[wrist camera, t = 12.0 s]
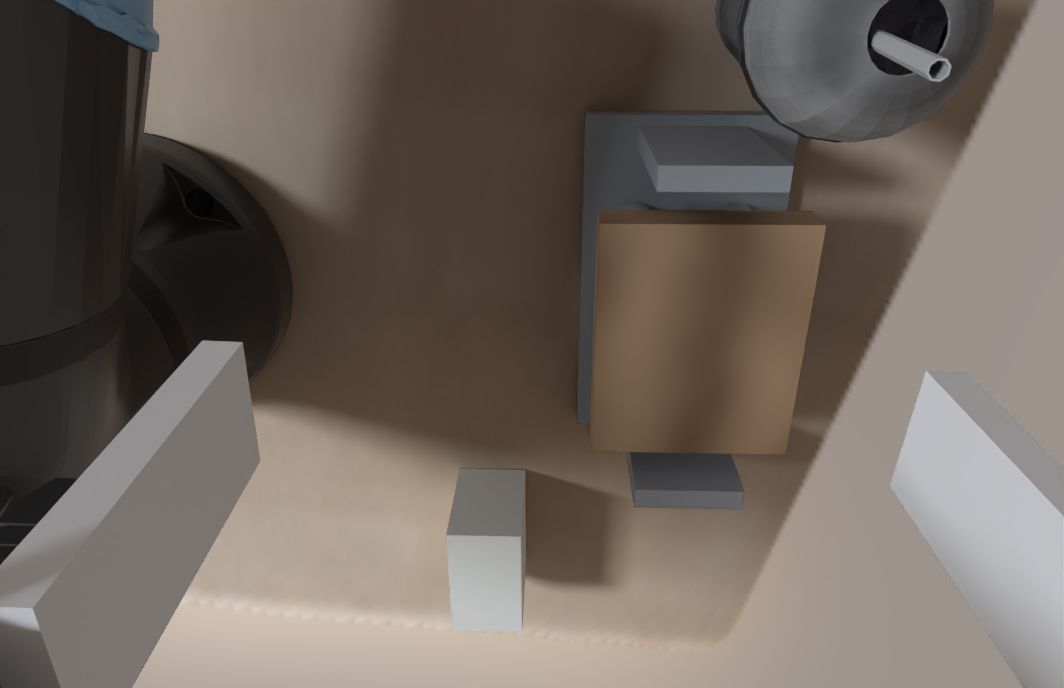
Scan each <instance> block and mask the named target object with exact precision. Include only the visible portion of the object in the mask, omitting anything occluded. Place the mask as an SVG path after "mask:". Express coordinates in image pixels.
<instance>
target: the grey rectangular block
mask: <svg viewBox="0 0 1064 688" xmlns="http://www.w3.org/2000/svg"><path fill="white" fill-rule="evenodd" d="M446 541H447V555H448V570H449V584H450V599H451V613H452V628H453V630H468V631H509V632H522V623H523V606H524V588H525V571H526V475H525V470H509V469H459V474H458V479H457V484H456V489H455V494H454V499H453V504H452V509H451V514H450V518H449V523H448V528H447V533H446Z"/></svg>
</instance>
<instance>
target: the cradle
mask: <svg viewBox="0 0 1064 688" xmlns="http://www.w3.org/2000/svg"><path fill="white" fill-rule="evenodd" d="M798 137H799V135H798V134H796V133H794V132H792V131H790V130H789V129H787V128H785V127H783V126H781V125H779V124H777V123H776V122H774V121H773V119H772V118H771V117H770V116H769V115H768V114H767V113H766V112H729V111H585V127H584V164H583V200H582V237H581V273H580V310H579V347H578V383H577V423H585V424H590V407H591V380H592V353H593V325H594V298H595V271H596V244H597V217H598V210H739V211H787V210H788V203H789V196H790V190H791V183H792V177H793V170H794V164H795V157H796V150H797V144H798ZM627 460H628V467H629V474H630V481H631V489H632V496H633V503H634V507H649V508H702V509H742V503H743V497H744V490H743V487H742V484H741V481H740V479H739V476H738V473H737V470H736V467H735V464H734V462H733V459H732V456H731V454H720V453H660V452H627Z"/></svg>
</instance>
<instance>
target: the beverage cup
mask: <svg viewBox="0 0 1064 688" xmlns="http://www.w3.org/2000/svg"><path fill="white" fill-rule="evenodd" d="M993 6H994V0H717V4H716V9H715V10H716V25H717V28H718V31H719V33H720V36H721V38H722V41H723V42H724V44H725V47H726V48H727V49H728V50H729V51H730V52H731V54H732V55H733V56H734V57H735V58H736V59H737V60H738V62H739V63H740V65H741V68H742V70H743V73H744V76H745V78H746V81H747V83H748V86H749V88H750V91H751V93H752V96H753V98H754V99H755V100H756V101H757V102H758V104H759V105H760V106H761V107H762V108H763V109H764V110H765V111H766V113H767V114H768V115H769V116H770V117H771V118H772V119H773V121H774V122H776V123H777V124H779V125H781V126H783V127H785V128H787V129H789V130H790V131H792V132H794V133H796V134H798V135H800V136H802V137H804V138H810V139H817V140H823V141H830V142H858V141H864V140H870V139H876V138H882V137H888V136H891V135H893V134H895V133H897V132H899V131H901V130H904V129H906V128H908V127H910V126H912V125H914V124H916V123H918V122H920V121H922V120H924V119H926V118H928V117H929V116H930V115H932V114H933V113H934V112H935V111H936V110H937V109H939V108H940V107H941V106H942V105H943V104H945V103H946V102H947V101H948V100H949V99H950V98H952V97H953V96H954V95H955V94H956V93H957V92H958V90H959V89H960V87H961V86H962V85H963V83H964V82H965V80H966V79H967V78H968V76H969V75H970V73H971V72H972V71H973V69H974V68H975V66H976V65H977V64H978V62H979V59H980V57H981V54H982V51H983V49H984V46H985V43H986V41H987V38H988V36H989V33H990V30H991V28H992V18H993Z"/></svg>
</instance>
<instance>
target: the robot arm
mask: <svg viewBox="0 0 1064 688" xmlns="http://www.w3.org/2000/svg"><path fill="white" fill-rule="evenodd" d="M158 48H159V35H158V33H157V32H156V31H155V29H154V28H153V0H0V688H132V686H133V685H134V683H135V681H136V679H137V678H138V676H139V674H140V672H141V671H142V669H143V667H144V665H145V663H146V662H147V660H148V658H149V656H150V655H151V653H152V651H153V649H154V648H155V646H156V644H157V642H158V641H159V639H160V637H161V635H162V633H163V632H164V630H165V628H166V626H167V625H168V623H169V621H170V619H171V618H172V616H173V614H174V612H175V610H176V609H177V607H178V605H179V603H180V602H181V600H182V598H183V596H184V595H185V593H186V591H187V589H188V588H189V586H190V584H191V582H192V580H193V579H194V577H195V575H196V573H197V572H198V570H199V568H200V566H201V565H202V563H203V561H204V559H205V557H206V556H207V554H208V552H209V550H210V549H211V547H212V545H213V543H214V542H215V540H216V538H217V536H218V535H219V533H220V531H221V529H222V527H223V526H224V524H225V522H226V520H227V519H228V517H229V515H230V513H231V512H232V510H233V508H234V506H235V504H236V503H237V501H238V499H239V497H240V496H241V494H242V492H243V490H244V489H245V487H246V485H247V483H248V481H249V480H250V478H251V476H252V474H253V473H254V471H255V469H256V467H257V466H258V464H259V462H260V456H259V449H258V442H257V435H256V429H255V422H254V415H253V408H252V402H251V395H250V388H249V383H250V382H252V380H253V379H254V378H255V377H256V376H257V375H258V374H259V373H260V371H261V370H262V369H263V367H264V366H265V365H266V363H267V362H268V361H269V360H270V358H271V357H272V356H273V354H274V353H275V351H276V350H277V348H278V347H279V345H280V343H281V341H282V339H283V337H284V334H285V332H286V329H287V326H288V323H289V318H290V313H291V306H292V284H291V275H290V270H289V265H288V262H287V258H286V255H285V252H284V249H283V246H282V244H281V241H280V239H279V237H278V235H277V233H276V231H275V229H274V227H273V225H272V224H271V222H270V220H269V219H268V217H267V215H266V214H265V213H264V211H263V210H262V208H261V207H260V206H259V204H258V203H257V202H256V201H255V199H254V198H253V197H252V196H251V195H250V194H249V192H248V191H247V190H246V189H245V188H244V187H243V186H242V185H241V184H240V183H239V182H238V181H237V180H236V179H234V178H233V177H232V176H231V175H230V174H229V173H227V172H226V171H225V170H224V169H222V168H221V167H220V166H218V165H217V164H215V163H214V162H212V161H211V160H209V159H208V158H206V157H204V156H203V155H201V154H199V153H197V152H196V151H194V150H192V149H190V148H188V147H186V146H183V145H181V144H178V143H176V142H173V141H171V140H168V139H165V138H161V137H158V136H154V135H150V134H145V133H144V127H145V117H146V108H147V98H148V89H149V79H150V69H151V60H152V51H153V52H158ZM890 488H891V489H892V491H893V492H894V494H895V495H896V497H897V498H898V500H899V501H900V503H901V504H902V506H903V507H904V509H905V510H906V512H907V513H908V515H909V516H910V518H911V519H912V521H913V522H914V524H915V525H916V527H917V528H918V530H919V531H920V533H921V534H922V535H923V537H924V539H925V540H926V542H927V543H928V545H929V546H930V548H931V549H932V551H933V552H934V554H935V555H936V557H937V558H938V560H939V561H940V563H941V564H942V566H943V567H944V569H945V570H946V572H947V573H948V575H949V576H950V578H951V579H952V581H953V582H954V584H955V585H956V587H957V588H958V590H959V591H960V593H961V594H962V596H963V597H964V599H965V600H966V602H967V603H968V605H969V606H970V608H971V609H972V611H973V612H974V614H975V615H976V617H977V618H978V620H979V621H980V623H981V624H982V626H983V627H984V629H985V630H986V632H987V633H988V635H989V636H990V638H991V639H992V641H993V642H994V644H995V645H996V647H997V648H998V650H999V651H1000V653H1001V654H1002V656H1003V657H1004V659H1005V660H1006V662H1007V663H1008V665H1009V666H1010V668H1011V669H1012V671H1013V672H1014V674H1015V675H1016V677H1017V678H1018V680H1019V681H1020V683H1021V685H1022V686H1023V687H1024V688H1064V467H1063V466H1062V465H1061V464H1060V463H1059V462H1058V461H1057V460H1056V459H1055V458H1054V457H1053V456H1052V455H1051V454H1050V453H1049V452H1048V451H1047V450H1046V449H1045V448H1044V447H1043V446H1042V445H1040V444H1039V443H1038V442H1037V441H1036V440H1035V439H1034V438H1033V437H1032V436H1031V435H1030V434H1029V433H1028V432H1027V431H1026V430H1025V429H1024V428H1023V427H1022V426H1021V425H1020V424H1018V422H1017V421H1016V420H1015V419H1014V418H1012V417H1011V416H1010V415H1009V414H1008V413H1007V412H1006V411H1005V410H1004V409H1003V408H1002V407H1001V406H1000V405H999V404H998V403H997V402H996V401H995V400H994V399H993V398H992V397H991V396H990V395H989V394H988V393H987V392H986V391H984V390H983V389H982V388H981V387H980V386H979V385H978V384H977V383H976V382H975V381H974V380H973V379H972V378H971V377H970V376H969V375H968V374H967V373H964V372H941V371H926V373H925V376H924V380H923V383H922V386H921V389H920V392H919V395H918V398H917V402H916V405H915V408H914V411H913V414H912V417H911V420H910V424H909V427H908V430H907V433H906V436H905V439H904V442H903V446H902V449H901V452H900V455H899V458H898V461H897V465H896V468H895V471H894V474H893V477H892V480H891V483H890Z"/></svg>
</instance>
